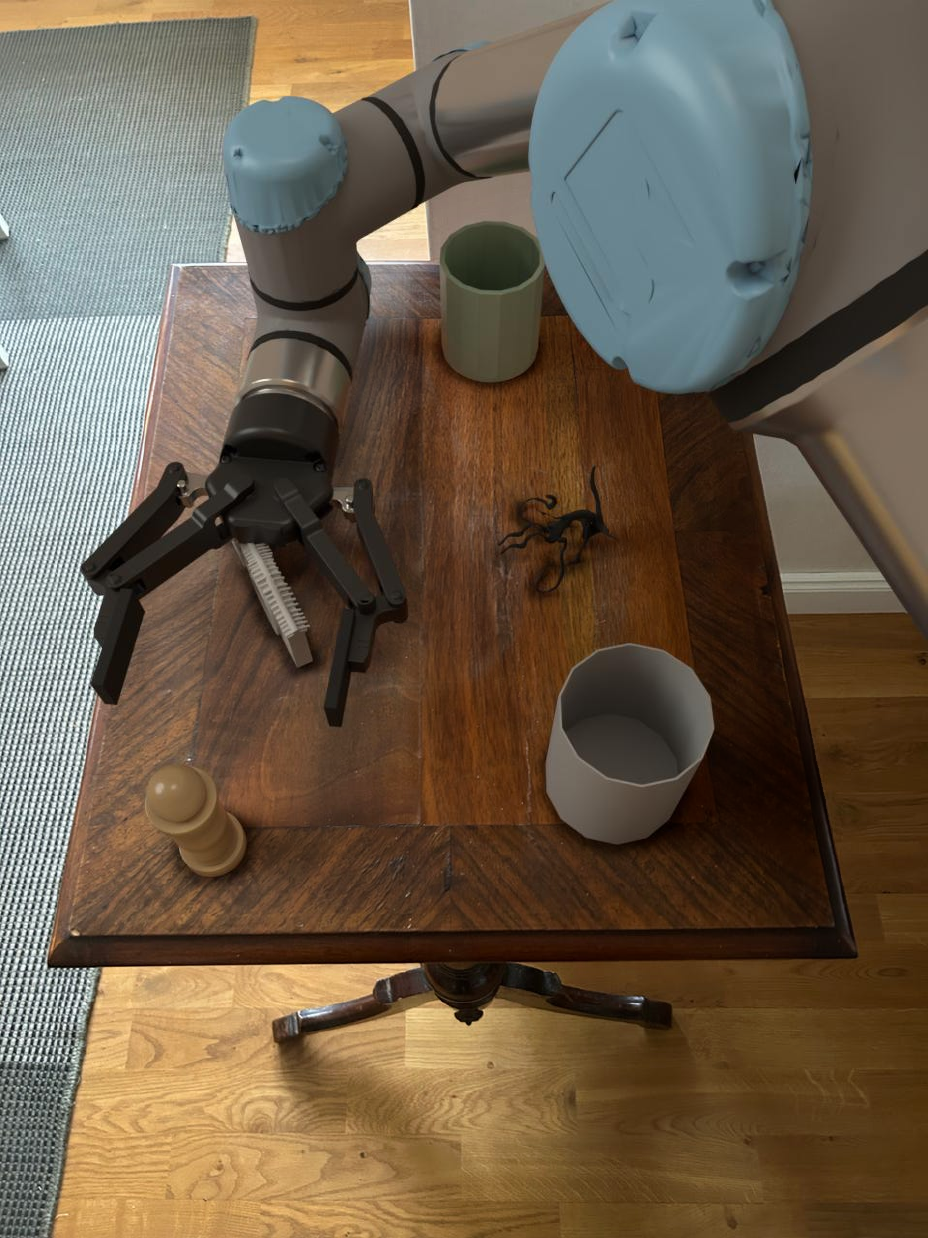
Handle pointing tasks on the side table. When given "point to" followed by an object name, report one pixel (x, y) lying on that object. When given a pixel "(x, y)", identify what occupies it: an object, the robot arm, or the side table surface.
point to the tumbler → (491, 300)
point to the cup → (626, 741)
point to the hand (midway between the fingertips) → (217, 707)
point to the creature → (558, 528)
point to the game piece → (195, 819)
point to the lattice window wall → (276, 599)
